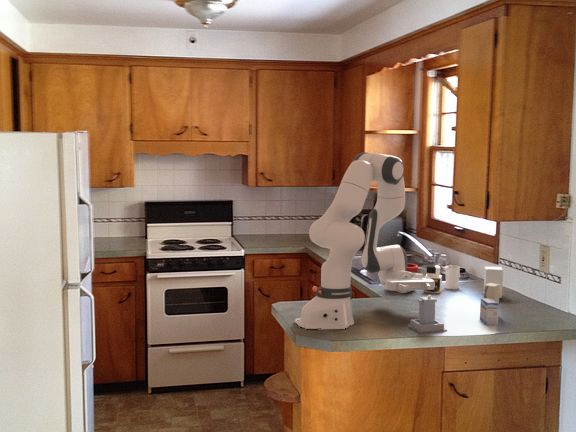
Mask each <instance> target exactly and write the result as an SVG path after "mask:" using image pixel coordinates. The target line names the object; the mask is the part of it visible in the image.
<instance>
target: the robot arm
mask: <svg viewBox="0 0 576 432" xmlns="http://www.w3.org/2000/svg"><path fill="white" fill-rule="evenodd" d="M404 173H405V165H404V163H403V161H402V159H401V158H399V157H397V156H396V155H395V156H394V155H388V154H384V153H383V154H382V153H378V152H359V153H358V154H356V155H355V156H354V158H353V160H352V161H351V163H350V164H349V166H348V167H347V169H346V171H345V172H344V175H343V177H342V179H341V181H340V184H339V187H338V189H337V192H336V194H335V196H334V198H333V200H332V202H331V204H330V205H329V207H328V208H327V209H326V211H325V212H324V213H323V215H321V217H319V218H318V219H317V220H315V221H313V222H312V224H311V225H310V227H309V230H308V231H309V232H308V236H309V239H310V240H311V242H312V243H313V244H314V245H317V246H319V247H320V248H324V249H329V254H328V258H327V259H326V261H324V262H323V263H322V264H321V268H320V271H321V272H320V277H321V278H320V282H321V283H320V286H315V285H313V287H312V292H314V293H316V296H314V297H313V298H312V299H311V300H310V301H308V302H307V303H306V304H304V305H303V306H302V308H301V312H300V317H298V318H297V317H296V318H295V320H294V323H295V322H296V323H297V324H298V325H300V326H302V327H305V328H321V329H320V330H345V328H346V329H347V328H349V327H351V326H353V325H354V324H355V320H354V315H353V309H352V297H353V290H352V289H353V288H352V285H351V280H352V279H351V277H352V265H353V264H352V263H353V261H354V258H355V256H356V254H357V253H358V251H359V250H361V249H362V247H363V249H362V252H361V257H360V259H361V260H360V261H361V266H362V268H363V269H364V270H365V271H367V272H368V273H370V274H375V273H377V272H378V274H377V275H378V279H379V280H380V281H379V284H380V285H383V288H384V289H385V290H387V291H390V292H391V291H392V292H393V291H394V292H396V291H397V292H398V293H400V294H405V293H410V292H413V291H424V290H433V289H434V288H435V281H434V280H433V279H431V278H429V277H426V275H424V274H423V273H419V272H418V273H411V272H408V271H406V268H407V264H408V263H409V262H408V261H409V259H408V254H407V252H406V250H405V249H404V248H403V247H402V246H401V244H391V245H385V246H378V247H377V245H378V239H379V231H380V229H381V228H382V226H384V225H385V224H386V223H388V222H389V221H390V220H392V219H394V218H397V217H398V216H399V215H400V214H401V213H402V212H403V211H404V210H405V205H406V187H405V186H406V185H405V179H404V175H405V174H404ZM372 182H374V183H377V194H376V195H377V197H376V198H377V199H376V203H375V206H374V207H373V209H371V211H370V212H369V214H368V218H367V219H368V220H367V225H366V231H364V230H363V229H362V228H361V226H359V225H357V224H355V223H352V222H351V221H352V219H353V218H355V217H356V216H357V215H359V214H360V213H361V212H362V210H363V207H364V204H365V203H366V199H367V197H368V195H369V192H370V189H371V186H372ZM297 320H299V321H297ZM350 325H351V326H350Z"/></svg>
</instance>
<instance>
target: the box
mask: <svg viewBox="0 0 576 432" xmlns="http://www.w3.org/2000/svg"><path fill="white" fill-rule="evenodd" d="M499 288H500V285H499V284H494V283H488V284H486V285H484V284H483V298H490V299H493V300H494V301H496V302H497V303H499V304H500V298H499ZM499 316H500V313H499V310H498V317H499Z"/></svg>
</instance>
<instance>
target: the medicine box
mask: <svg viewBox="0 0 576 432" xmlns="http://www.w3.org/2000/svg"><path fill="white" fill-rule="evenodd" d="M499 309H500V302H499V303H497V302H496V301H494V300H493V299H490V298H484V297H483V298H480V308H479V311H480V312H479V321H480V322H481V323H483V324H485V326H499V316H498V310H499Z"/></svg>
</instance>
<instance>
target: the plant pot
mask: <svg viewBox="0 0 576 432" xmlns="http://www.w3.org/2000/svg"><path fill="white" fill-rule="evenodd" d="M406 271H408V272H411V273H419V266H418V265H417V264H415V263H409V262H408V264H407V268H406ZM395 292H397V291H395Z"/></svg>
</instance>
